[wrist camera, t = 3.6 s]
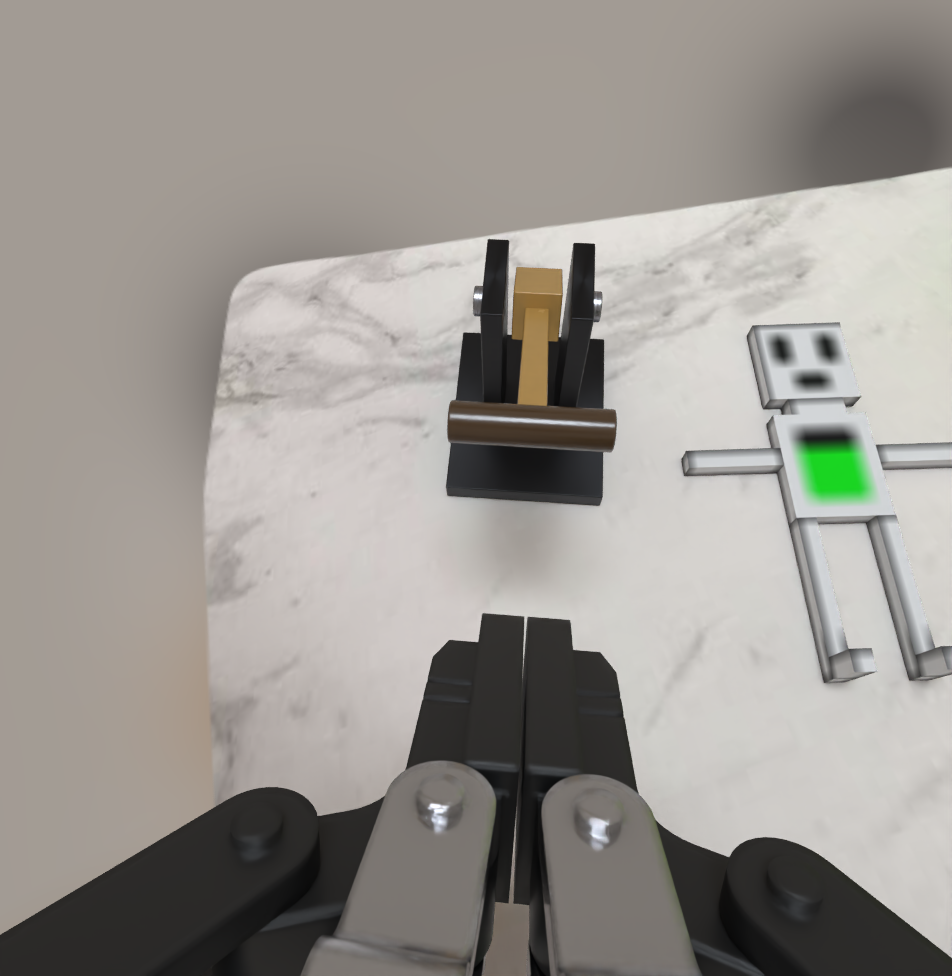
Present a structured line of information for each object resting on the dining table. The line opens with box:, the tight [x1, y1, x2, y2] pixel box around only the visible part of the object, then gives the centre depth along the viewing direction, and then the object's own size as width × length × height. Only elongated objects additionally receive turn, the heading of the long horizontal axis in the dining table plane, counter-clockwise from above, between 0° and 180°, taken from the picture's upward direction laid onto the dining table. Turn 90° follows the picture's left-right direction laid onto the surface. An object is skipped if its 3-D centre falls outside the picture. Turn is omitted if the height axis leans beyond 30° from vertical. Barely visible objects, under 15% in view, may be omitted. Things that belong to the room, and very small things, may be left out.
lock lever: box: [447, 267, 617, 452], centre depth 29 cm, size 12×6×2 cm, turn 175°
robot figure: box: [682, 322, 952, 683], centre depth 39 cm, size 16×3×22 cm
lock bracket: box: [446, 239, 604, 505], centre depth 37 cm, size 11×9×13 cm
